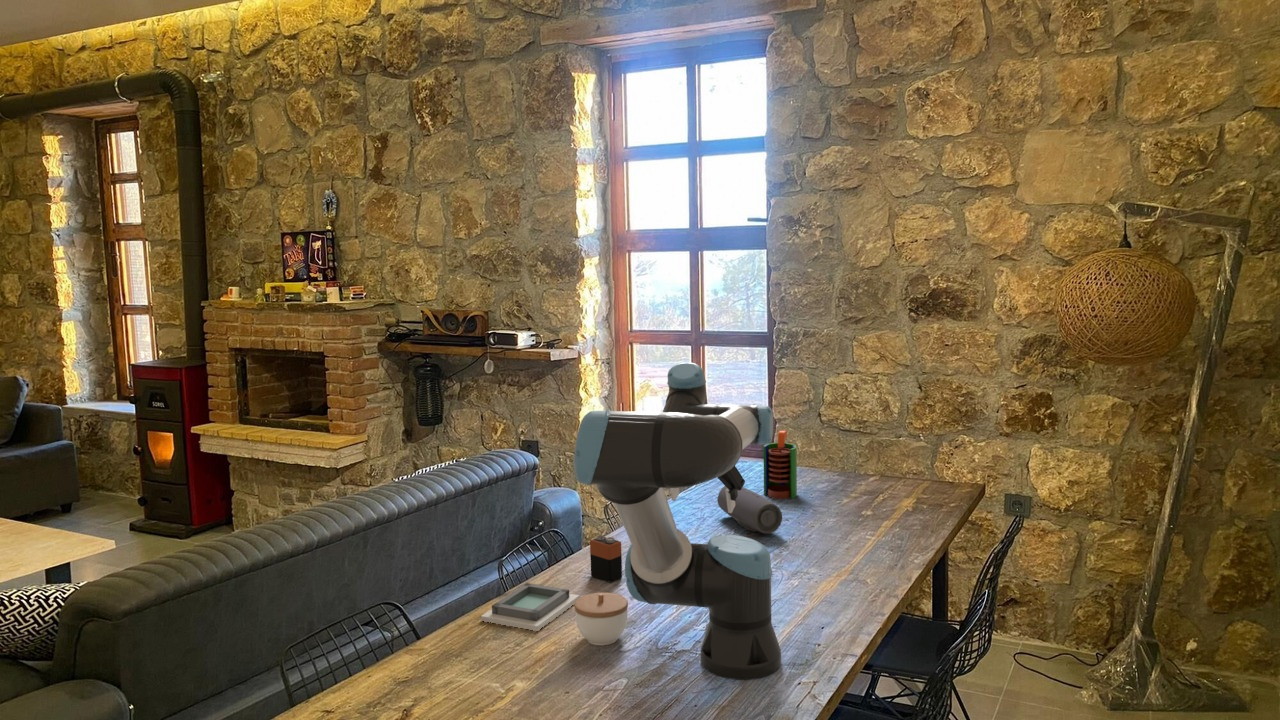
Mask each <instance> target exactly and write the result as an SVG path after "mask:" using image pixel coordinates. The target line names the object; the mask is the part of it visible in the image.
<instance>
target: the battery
mask: <svg viewBox="0 0 1280 720" xmlns="http://www.w3.org/2000/svg"><path fill="white" fill-rule="evenodd" d="M589 549H590V550H589V552H590V553H589V554H590V555H589V556H590V575H591V577H592V578H595V579H598V580H602V581H604V582H607V583H612V582H615V581H618V580H620V579H621V578H623V562H622V559H623V557H622V541H620V540H617V539H615V537H613V536H608V537H606V536H604V535H602V534H599V535H597V536H596V538H593V539H590V541H589Z"/></svg>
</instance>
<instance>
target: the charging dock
mask: <svg viewBox="0 0 1280 720" xmlns="http://www.w3.org/2000/svg"><path fill="white" fill-rule="evenodd" d="M579 598H580V595H579V594H574V593H570V589H566V588H560V587H553V586H547V585H542V584H541V585H540V584H534V583H529V582H526V583H525V584H524V585H521V586H520V587H518V588H516V589H515V590H514V591H512V592H511V593H509V594H508V595H506V596H504V597H503V598H501V599H500V600H498V601H497V602H495V603H493V604H492V605H491V609H489V610H488V611H487V612H484V614H482V615H480V622H482V621H484V623H487V622H489V624H492V623H496V624H495V625H498V624H501V625H500V626H503V625H506V626H505V627H509V626H513V627H512V628H514V627H518V628H517V629H520V628H524V629H523V630H525V629H529V630H528V631H530V630H533V631H532V632H536V631H538V632H539V631H541V630H542V629H543V628H545V627H546V626H547V625H549V624H550V623H551V622H553V621H554V620H556V619H557V618H559V615H560V614H561V615H563V614H564V613H565V612H566V611H568V610H569V609H570V608H571V606H572V605H573V606H574V604H575V602H576V600H577V599H579ZM573 606H572V607H573ZM568 608H569V609H568ZM567 609H568V610H567ZM564 611H565V612H564ZM563 612H564V613H563ZM561 615H560V616H561ZM556 617H557V618H556ZM553 619H554V620H553ZM552 620H553V621H552ZM490 622H491V623H490ZM549 622H550V623H549ZM548 623H549V624H548ZM546 624H547V625H546ZM545 625H546V626H545ZM544 626H545V627H544ZM542 627H543V628H542ZM541 628H542V629H541ZM540 629H541V630H540Z"/></svg>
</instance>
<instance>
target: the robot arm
mask: <svg viewBox="0 0 1280 720" xmlns="http://www.w3.org/2000/svg"><path fill="white" fill-rule="evenodd" d="M706 383H707V381H706V378H705V373H704V369H703V368H702V367H701V366H700V365H699V364H696V363H694V362H680V363H677V364H675V365H673V366H672V367H671V368H670V369H669V370H668V372H667V383H666V384H667V386H668V394H667V397H666V400H665V405H664V408H663V410H662V411H628V410H627V411H626V410H625V411H624V410H623V411H621V410H611V409H606V410H592V411H589V412H587V413H586V414H585V415H584V416H583V417H582V419H581V421H580V424H579V427H578V430H577V435H576V439H575V445H574V456H573V457H574V458H573V467H574V475H575V478H576V480H577V482H578V483H579V484H581V485H582V484H583V485H586V486H590V485H594V486H596V488H597V489H598V492H599V493H600V495H601V496H602V497H603V498H604V499H605V500H607V501H608V502H610V503H612V504H614V506H615V508H616V512H617V513H618V516H619V518H620V520H621V522H622V526H623V528H624V529H625V532H626V534H627V536H628V539H629V542H630V543H631V544H630V546H629V547H628V549H627V551H626V556H625V561H624V562H625V563H624V576H625V578H626V582H625V585H626V587H627V591H628V593H629V594H630V596H631V597H632V598H633V599H635V601H638V602H641V603H646V604H650V605H671V606H684V607H695V608H696V607H697V608H706V609H708V615H709V616H708V617H709V618H708V619H709V621H708V624H707V628H706V631H705V634H704V637H703V640H702V644H701V647H700V663H701V666H702V667H703V668H704V670H706V671H707V672H709V673H711V674H713V675H715V676H718V677H722V678H726V679H732V680H754V679H760V678H764V677H767V676H771V675H772V674H773V673H775V672H777V671H778V669H779V670H780V668H781V664H782V650H781V647H780V643H779V640H778V638H777V635H776V632H775V629H774V626H773V623H772V576H773V569H772V564H771V562H772V560H771V559H772V558H771V553H770V551H769V549H768V548H767V547H766V546H765V545H764V544H762V543H761V542H759V541H757V540H756V539H753V538H750V537H746V536H742V535H735V534H725V535H722V534H719V535H715V536H712V537H711V538H710V539H709V540H708V542H707V543H705V544H704V543H695V542H694V543H693V542H691V541H690V539H689V538H688V536H687V535H686V534H685V533H684V532H683V531H681V530H680V529H678V528H677V525H676V522H675V519H674V516H673V514H672V510H671V508H670V507H671V506H670V505H669V501H668V498H667V495H666V493H665V490H664V489H669V491H670V496H671V501H672V502H676V501H677V498H678V497H679V495H680V489H681V488H689V487H692V486H696V485H697V486H698V485H701V484H703V483H706V482H708V481H712V480H714V479H716V478H717V479H718V480H719V481H720V482H721V483H722V484H723V485H724V486H726V487H727V489H726V499H727V507H728V513H732V511H733V509H734V507H735V500H736V498H737V496H738V490H739V491H740V490H741V489H742V487H744V485H745V484H746V480H745V479H744V477H743V476H742V474H741V472H740V471H739V469H738V467H737V466H736V465H737V463H738V462H739V460H740V459H741V456H742V452H743V450H745V449H746V448H747V447H748V446H749V445H755V446H758V445H766V444H770V443H772V440H773V435H774V413H773V410H772V408H771V407H770V406H768V405H760V404H752V405H751V404H715V403H714V404H713V403H710V404H709V403H708V396H707V395H708V394H707V387H706V386H707V385H706Z"/></svg>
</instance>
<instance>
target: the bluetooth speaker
mask: <svg viewBox="0 0 1280 720" xmlns="http://www.w3.org/2000/svg"><path fill="white" fill-rule="evenodd" d="M726 489H727V487H726V486H725V485H724V486H723V487H722V488H721V489H720V491H719V492H718V495H717V505H718V507H719V509H721V510H722V511H723V512H724V513H726V514H727V515H728V516H729V517H731V518H733V519H734V520H736V523H737V524H738V525H740V526H741V527H742V528H745V529H746V530H748V531H750V532H754V533H756V532H757V531H758V532H759V533H762V534H771V533H774V532H776V531H777V530H778V529H779V528H780V527H781V524H782V521H783V512H782V510H781V508H780V507H779V506H778V505H777V504H775V503H774V502H773V501H771V500H770V499H768V498H766V497H764V495H763V496H762V495H760V494H759V493H757V492H755V491H752V490H750V489H748V488H746V487H744V486H743V487H742V489H741V490H740V491H739V490H738V496H737V498H736V500H735V507H734V509H733V511H732V513H728V507H727V499H726Z"/></svg>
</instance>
